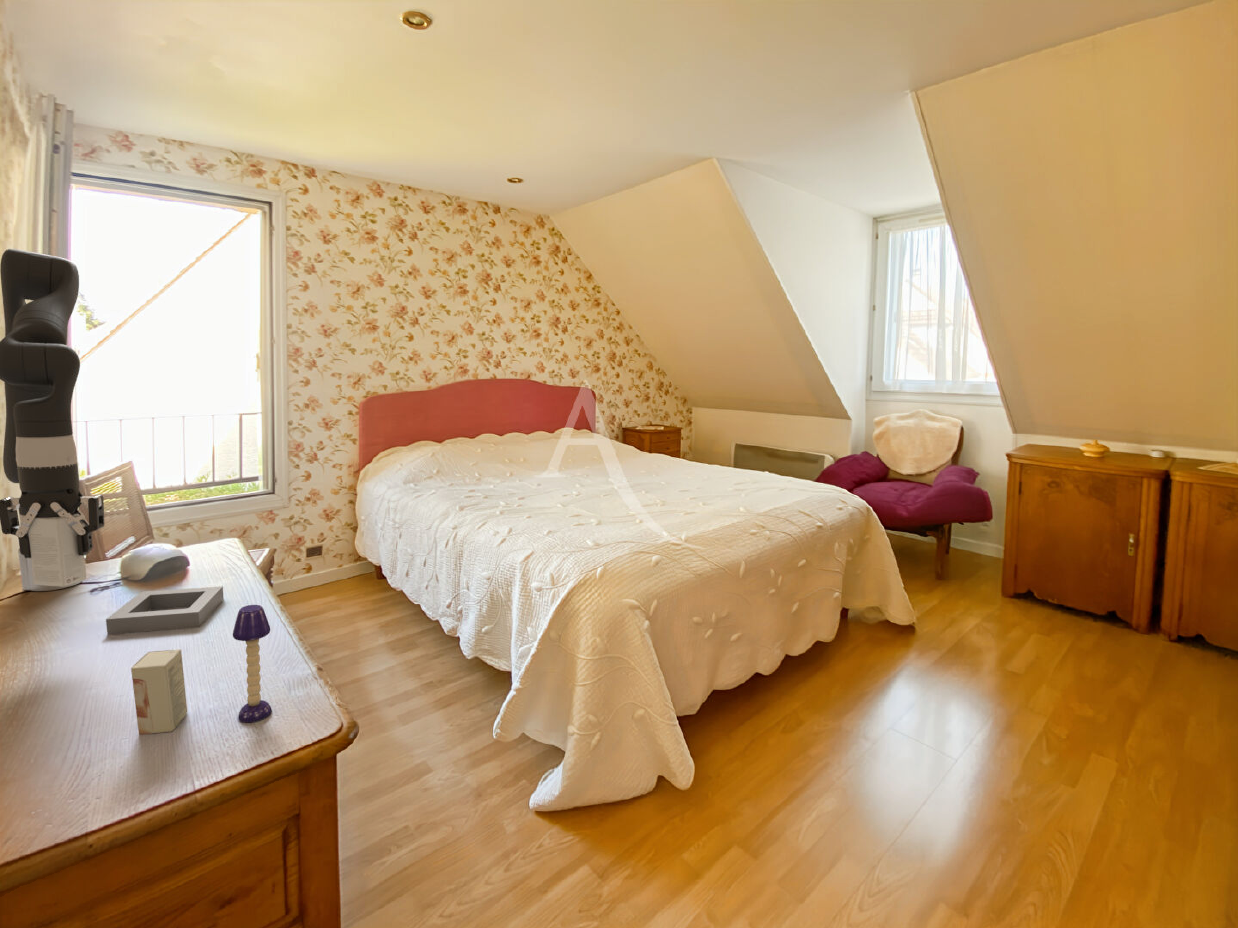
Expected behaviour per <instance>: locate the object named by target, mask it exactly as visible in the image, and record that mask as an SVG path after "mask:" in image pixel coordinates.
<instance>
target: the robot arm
mask: <svg viewBox="0 0 1238 928" xmlns="http://www.w3.org/2000/svg"><path fill="white" fill-rule="evenodd" d="M1 255H2V256H1V259H0V284H1V295H2V296H1V297H2V305H3V306H2V307H3V316H4V317H3V318H4V329H5V330H4V337H3V338H2V339H1V340H0V380H1V381H2V382H3V384H4V395H5V396H4V397H5V415H6V416H5V429H4V439H3V440H4V441H3V452H2V453H3V456H2V465H3V472H4V474H5V477H6V479H7V480H8V481H9V482H11V483H12V484H19V490H20V492H21V494H20V496H19V497H13V496H8V497H4V498H2V499H0V528H1V532H2V534H4V535H12V536H16V537H17V539H18V544H19V545H18V546H19V548H18V550H17V553H18V561H19V569H20V577H21V578H20V579H21V586H22V587H21V588H22V591H31V592H32V591H33V592H48V591H57V590H61V589H65V588H66V589H67V588H69V587H73V586H75V585H78V584H80V583H82V582H83V581H80V582H77V583H74V584H71V585H68V586H65V587H60V586H46V585H34V581H33V571H32V562H31V553H30V544H29V535H28V531H29V529H30V527H31V525H32V523H33V521H34V519H35V518H52V517H61V518H65V519H66V523H67V525H69V526H71V527H72V528H73V529H74V530H75V531H76V532H77V533H78V534H79V535H77V546H78V555H79V556H82V555H84V556H86V555H88V554H89V553H90V551H92V550H93V548H94V544H93V532H95V531H98V530H99V529H102V528H104V527H105V508H104V507H105V506H104V504H105V503H104V502H105V501H104V496H103V495H101V494H98V495H95V496H87V495H86V496H84V495H83V494H82V493H81V491H80V487H81V486H80V485H81V484H80V477H79V476H80V474H79V464H78V455H77V454H78V453H77V446H76V443H75V440H74V435H73V434H74V432H73V422H72V399H73V394H74V389H75V386H76V383H77V380H78V377H79V373H80V369H81V361H80V357H79V355H78V353H77V352H76V351H75V350H74V349H73V348H72V347H70V346H69V345H67V344H68V327H69V326H68V325H69V322H70V319H71V316H72V315H73V311H74V309H75V306H76V303H77V300H78V296H79V291H80V275H79V269H78V267H77V265H76V264H75V263H74V262H73V261H71V260H70V259H68V258H63V257H60V256H55V255H50V254H44V253H39V252H34V251H30V250H24V249H23V250H22V249H17V248H8V249H6V250H4V252H3V253H2V254H1ZM26 301H29V302H27V303H26ZM82 504H83V505H84V507H85V509H87V510H88V511H87V512H88V520H87V519H86V516H85V514H84V513H82V511H81V510H80V509H79V507H80V506H81V505H82ZM73 514H79V515H80V516H78V517H76V518H75V517H73V516H72V515H73ZM67 518H68V519H67ZM79 521H81V523H80V522H79Z"/></svg>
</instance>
